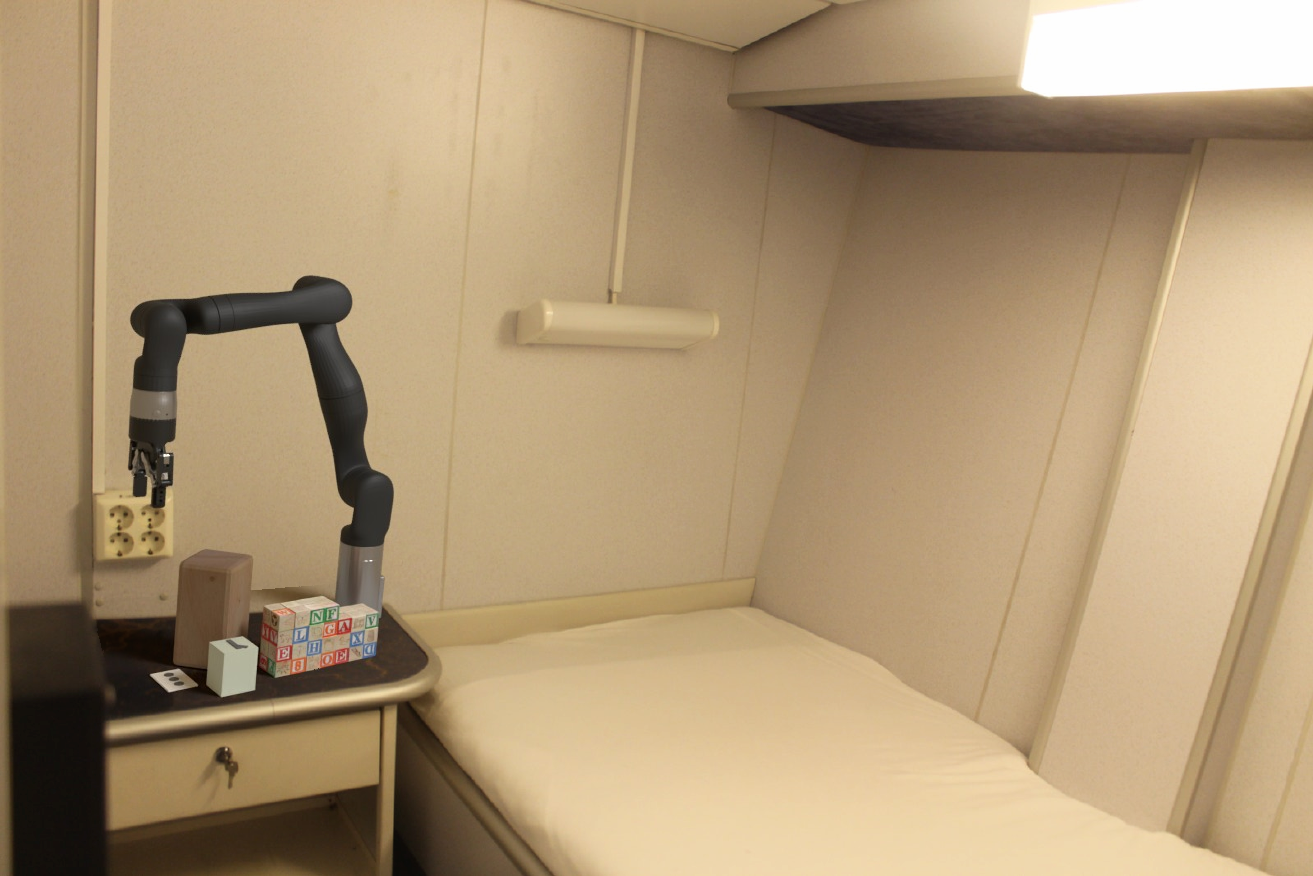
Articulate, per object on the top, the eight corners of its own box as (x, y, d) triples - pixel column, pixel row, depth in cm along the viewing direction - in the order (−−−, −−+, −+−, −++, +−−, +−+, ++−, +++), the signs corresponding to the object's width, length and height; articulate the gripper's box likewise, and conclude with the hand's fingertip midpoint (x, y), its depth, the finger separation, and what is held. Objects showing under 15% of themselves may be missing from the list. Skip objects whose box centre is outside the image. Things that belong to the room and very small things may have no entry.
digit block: (239, 678, 179) (242, 635, 177) (255, 690, 175) (258, 646, 173) (206, 685, 174) (209, 641, 173) (221, 697, 170) (224, 652, 169)
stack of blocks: (359, 646, 200) (364, 588, 199) (376, 656, 196) (381, 598, 195) (257, 667, 184) (262, 604, 183) (274, 679, 180) (279, 615, 179)
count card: (150, 675, 175) (150, 673, 174) (179, 670, 178) (179, 668, 178) (168, 692, 169) (168, 690, 169) (197, 686, 173) (197, 684, 173)
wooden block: (224, 673, 179) (232, 568, 177) (170, 666, 179) (177, 561, 176) (248, 653, 189) (255, 553, 186) (196, 647, 189) (203, 546, 186)
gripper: (191, 421, 174) (186, 510, 176) (159, 406, 183) (154, 491, 185) (146, 421, 168) (141, 513, 170) (116, 406, 177) (111, 494, 180)
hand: (148, 502), depth 178 cm, fingers open, 8 cm apart
